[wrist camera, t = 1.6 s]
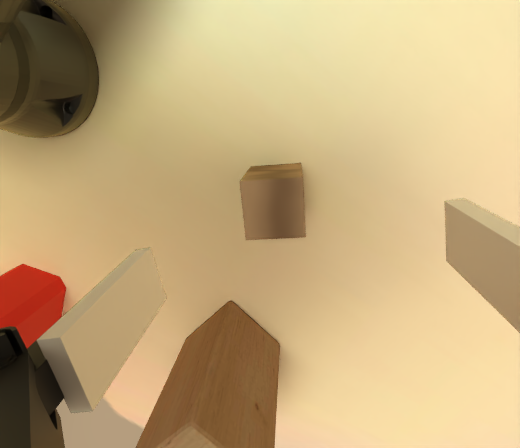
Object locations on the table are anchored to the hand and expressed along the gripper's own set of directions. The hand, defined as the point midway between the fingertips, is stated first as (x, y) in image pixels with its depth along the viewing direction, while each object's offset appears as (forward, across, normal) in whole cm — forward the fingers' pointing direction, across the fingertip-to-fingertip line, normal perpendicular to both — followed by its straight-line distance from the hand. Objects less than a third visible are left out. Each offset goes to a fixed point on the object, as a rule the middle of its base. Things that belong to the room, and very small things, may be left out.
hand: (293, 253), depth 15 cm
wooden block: (+27, -13, -24) cm, 38 cm away
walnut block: (+27, -2, -3) cm, 27 cm away
